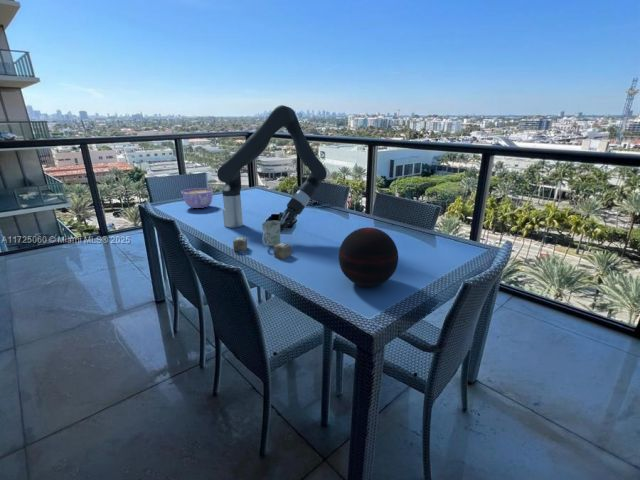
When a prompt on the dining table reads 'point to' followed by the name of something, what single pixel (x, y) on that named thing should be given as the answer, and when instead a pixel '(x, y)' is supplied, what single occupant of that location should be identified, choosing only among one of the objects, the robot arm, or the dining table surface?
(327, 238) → the dining table surface
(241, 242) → the walnut block left
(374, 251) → the decorative orb
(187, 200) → the bowl of food
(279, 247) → the walnut block right
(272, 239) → the mug
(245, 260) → the dining table surface
